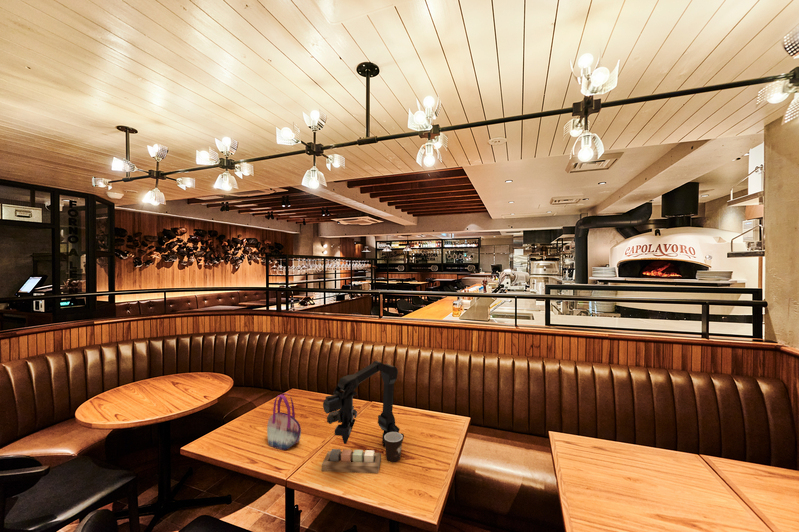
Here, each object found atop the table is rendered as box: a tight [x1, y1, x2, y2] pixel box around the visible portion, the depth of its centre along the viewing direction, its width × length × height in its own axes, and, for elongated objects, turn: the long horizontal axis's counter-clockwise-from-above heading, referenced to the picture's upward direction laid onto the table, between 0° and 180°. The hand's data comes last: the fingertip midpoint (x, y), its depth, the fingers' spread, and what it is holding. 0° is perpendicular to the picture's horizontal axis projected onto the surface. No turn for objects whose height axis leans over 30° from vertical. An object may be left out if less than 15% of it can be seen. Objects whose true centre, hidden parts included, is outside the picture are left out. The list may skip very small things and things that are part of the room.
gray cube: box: [330, 448, 342, 462], centre depth 142 cm, size 4×4×4 cm
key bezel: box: [321, 450, 382, 474], centre depth 141 cm, size 25×10×3 cm, turn 86°
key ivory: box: [364, 449, 375, 463], centre depth 141 cm, size 4×4×4 cm
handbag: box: [266, 392, 302, 451], centre depth 158 cm, size 21×10×25 cm, turn 66°
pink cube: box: [340, 448, 353, 462], centre depth 141 cm, size 4×4×4 cm
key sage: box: [352, 449, 364, 462], centre depth 141 cm, size 4×4×4 cm
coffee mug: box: [384, 432, 405, 463], centre depth 147 cm, size 12×9×10 cm
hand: (346, 440), depth 141 cm, fingers open, 5 cm apart
